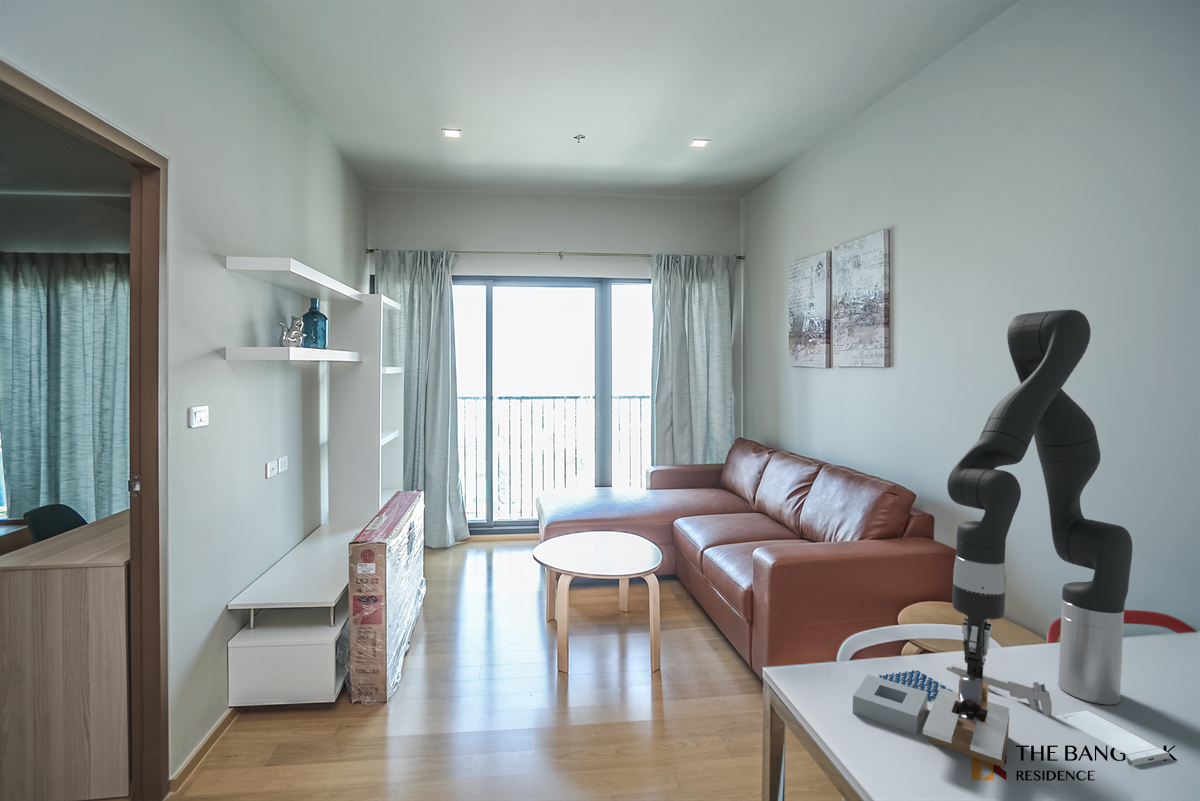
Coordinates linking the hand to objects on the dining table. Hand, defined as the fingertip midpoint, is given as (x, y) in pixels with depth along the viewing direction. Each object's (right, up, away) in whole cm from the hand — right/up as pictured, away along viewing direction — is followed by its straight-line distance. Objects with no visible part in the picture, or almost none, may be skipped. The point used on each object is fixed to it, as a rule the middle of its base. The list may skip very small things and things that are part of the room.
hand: (974, 684), depth 102 cm
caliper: (+11, -8, +12) cm, 18 cm away
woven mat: (-4, -8, +12) cm, 15 cm away
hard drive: (+21, -9, -2) cm, 23 cm away
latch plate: (-6, -2, -8) cm, 10 cm away
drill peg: (-4, -7, -5) cm, 9 cm away
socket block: (-4, -8, -5) cm, 10 cm away
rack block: (-13, -7, +3) cm, 15 cm away
